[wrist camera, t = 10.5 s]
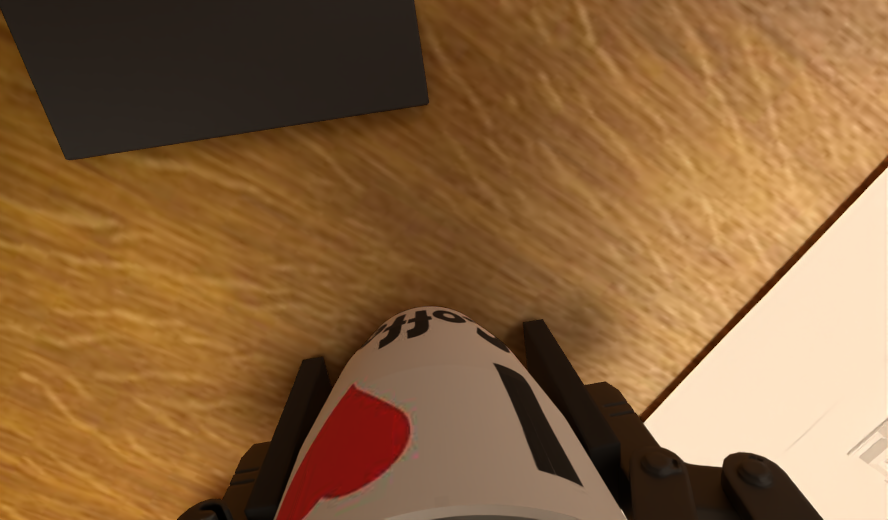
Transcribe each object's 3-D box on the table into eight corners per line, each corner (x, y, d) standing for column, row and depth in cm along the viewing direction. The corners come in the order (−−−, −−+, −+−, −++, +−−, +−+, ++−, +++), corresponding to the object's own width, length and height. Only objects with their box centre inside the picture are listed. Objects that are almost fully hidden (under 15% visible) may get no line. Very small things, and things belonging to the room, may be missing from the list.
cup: (530, 257, 16) (702, 473, 7) (531, 436, 19) (656, 764, 10) (304, 280, 16) (160, 543, 6) (340, 460, 19) (274, 827, 9)
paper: (900, 110, 15) (934, 111, 14) (1131, 329, 20) (1171, 341, 19) (493, 575, 21) (497, 598, 20) (736, 666, 26) (750, 689, 25)
